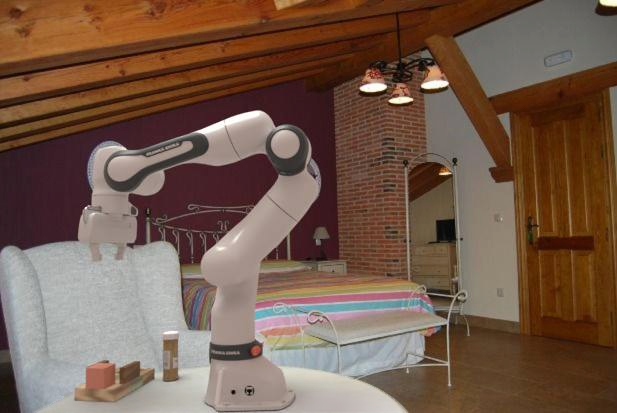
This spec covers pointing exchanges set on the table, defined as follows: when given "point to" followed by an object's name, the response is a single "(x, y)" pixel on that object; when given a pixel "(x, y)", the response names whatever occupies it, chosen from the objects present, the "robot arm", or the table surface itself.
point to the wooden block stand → (117, 383)
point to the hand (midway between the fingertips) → (108, 260)
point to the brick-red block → (100, 375)
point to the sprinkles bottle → (170, 355)
